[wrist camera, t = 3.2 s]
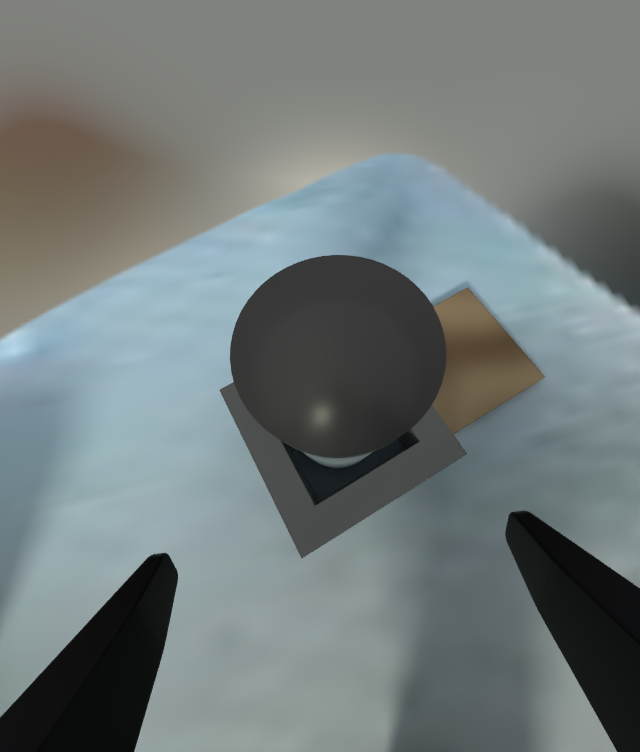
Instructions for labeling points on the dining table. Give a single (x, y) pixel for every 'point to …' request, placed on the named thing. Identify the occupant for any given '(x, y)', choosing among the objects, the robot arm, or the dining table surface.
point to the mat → (477, 362)
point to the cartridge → (338, 357)
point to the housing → (354, 500)
